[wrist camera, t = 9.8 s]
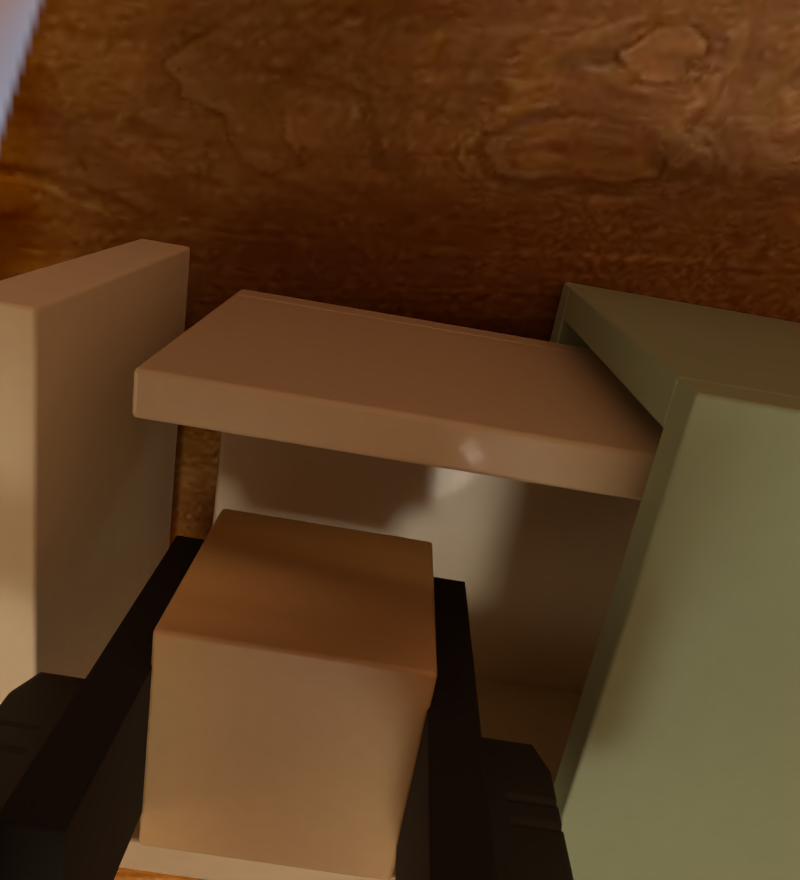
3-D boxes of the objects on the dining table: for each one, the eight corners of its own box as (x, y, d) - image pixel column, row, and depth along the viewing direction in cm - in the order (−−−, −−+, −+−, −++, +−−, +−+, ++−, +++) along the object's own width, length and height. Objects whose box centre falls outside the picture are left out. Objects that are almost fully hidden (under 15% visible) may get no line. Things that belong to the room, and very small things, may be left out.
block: (205, 682, 16) (136, 847, 12) (221, 506, 14) (151, 629, 10) (398, 711, 16) (391, 883, 12) (432, 540, 14) (438, 674, 11)
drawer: (-26, 619, 22) (-250, 854, 14) (-39, 207, 18) (-356, 242, 10) (613, 717, 22) (709, 987, 15) (737, 341, 18) (948, 461, 11)
